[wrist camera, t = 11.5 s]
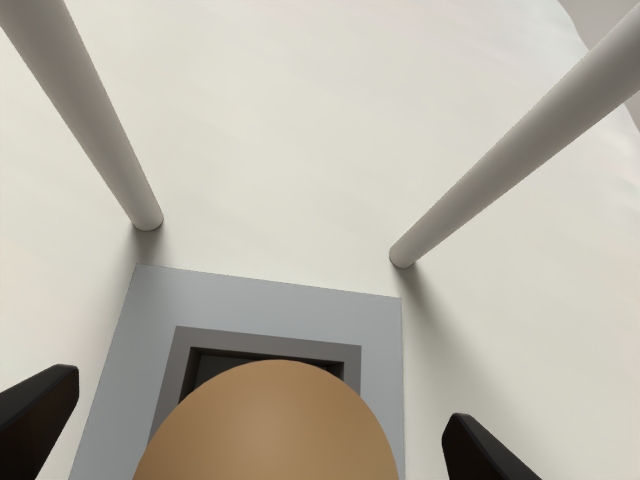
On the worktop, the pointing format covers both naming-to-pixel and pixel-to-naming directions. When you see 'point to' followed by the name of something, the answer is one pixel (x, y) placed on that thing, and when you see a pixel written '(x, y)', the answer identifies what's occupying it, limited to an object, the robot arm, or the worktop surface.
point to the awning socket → (261, 295)
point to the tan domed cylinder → (270, 430)
